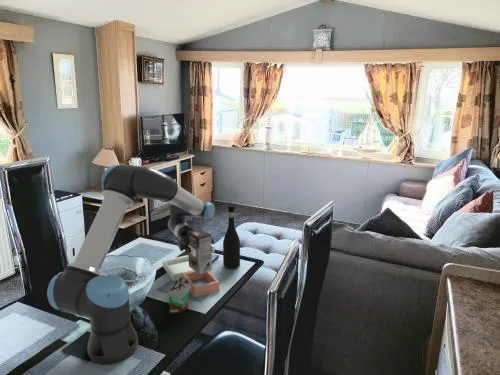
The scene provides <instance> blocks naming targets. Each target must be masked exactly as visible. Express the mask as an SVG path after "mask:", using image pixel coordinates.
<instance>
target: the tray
mask: <svg viewBox="0 0 500 375" xmlns="http://www.w3.org/2000/svg"><path fill="white" fill-rule="evenodd" d="M162 268H163V269H164V270H165V271H166V273H167V275H168V276H169V277H170V279H171V280H172V282H177V281H178V280H179V279H180V276H182V277H183V273H187V272H191V271H195V270H193V269H192V268H190V267H189V257H188V254H187V255H186V254H185V255H183V256H182V255H181V256H178V257H173V258H169V259H164V260H162ZM210 273H212V270H211V271H210ZM176 280H177V281H176Z"/></svg>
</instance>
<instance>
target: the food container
mask: <svg viewBox="0 0 500 375" xmlns="http://www.w3.org/2000/svg"><path fill="white" fill-rule="evenodd" d="M190 288H191V286H190V282H189V280H188V279H187V278H185V277H182V276H180V279H179V280H177V281H176V282H175V283H174V284H173V286H172V287H171V289H170V290H167V298H168V305H169V313H170V314H173V315H174V314H176V315H177V314H180V313H183V312H184V311H186V310H187V309H188V308H189V296H190V294H189V293H190V291H189V290H190Z"/></svg>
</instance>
